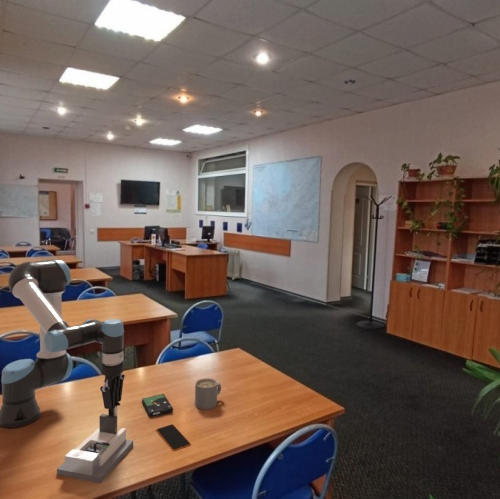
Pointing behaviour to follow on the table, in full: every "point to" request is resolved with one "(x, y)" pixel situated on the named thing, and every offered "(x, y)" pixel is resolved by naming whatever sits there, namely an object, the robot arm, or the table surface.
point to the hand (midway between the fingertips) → (113, 423)
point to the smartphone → (173, 437)
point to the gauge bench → (101, 468)
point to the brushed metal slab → (82, 462)
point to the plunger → (105, 430)
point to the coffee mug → (206, 393)
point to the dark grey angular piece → (95, 447)
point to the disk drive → (157, 405)
